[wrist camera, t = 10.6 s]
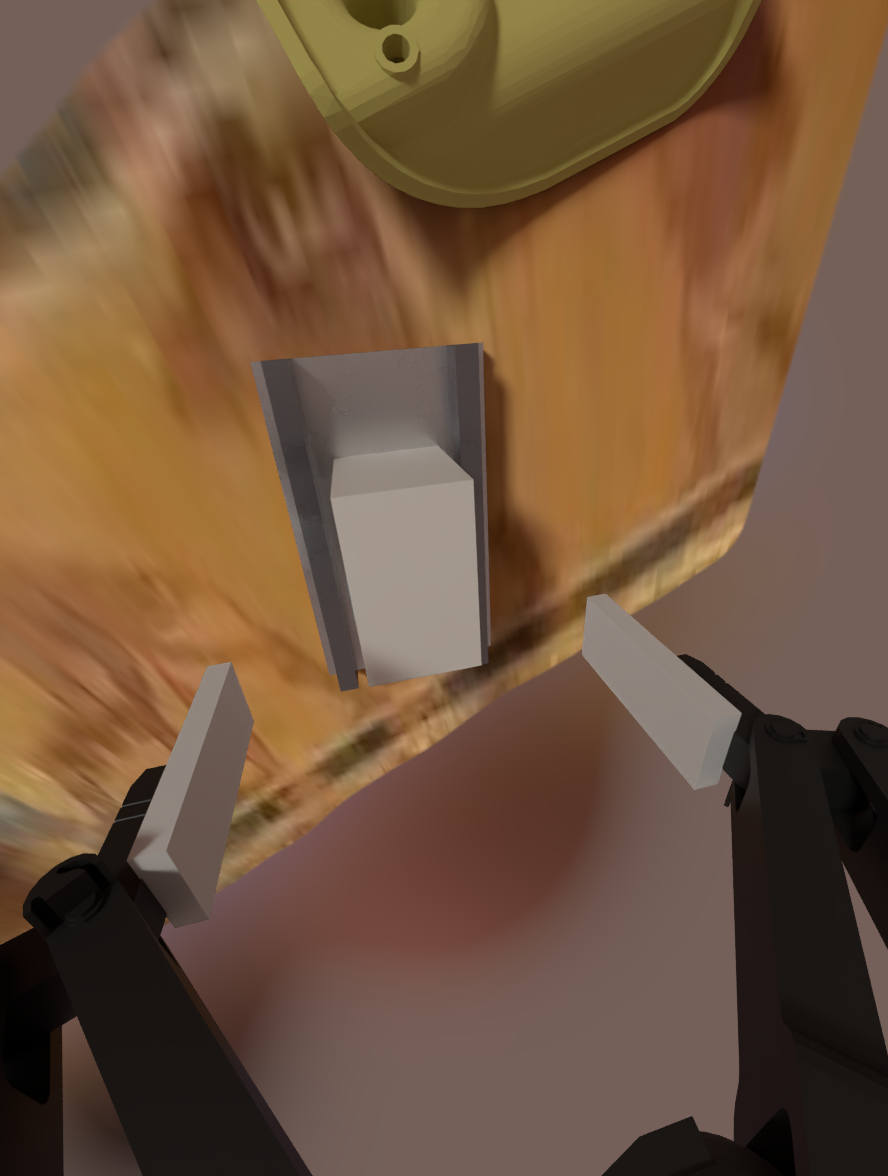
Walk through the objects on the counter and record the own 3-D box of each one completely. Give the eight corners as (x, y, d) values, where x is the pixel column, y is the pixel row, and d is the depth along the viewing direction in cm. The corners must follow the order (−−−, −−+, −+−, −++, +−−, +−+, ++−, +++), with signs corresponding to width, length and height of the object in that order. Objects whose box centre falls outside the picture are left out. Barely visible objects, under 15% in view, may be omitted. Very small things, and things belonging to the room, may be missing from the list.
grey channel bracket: (330, 664, 33) (329, 693, 30) (254, 361, 23) (242, 362, 20) (486, 636, 34) (499, 661, 31) (476, 343, 25) (493, 341, 22)
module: (362, 609, 30) (368, 687, 23) (333, 458, 25) (329, 498, 18) (450, 594, 30) (482, 665, 24) (439, 445, 26) (474, 479, 19)
